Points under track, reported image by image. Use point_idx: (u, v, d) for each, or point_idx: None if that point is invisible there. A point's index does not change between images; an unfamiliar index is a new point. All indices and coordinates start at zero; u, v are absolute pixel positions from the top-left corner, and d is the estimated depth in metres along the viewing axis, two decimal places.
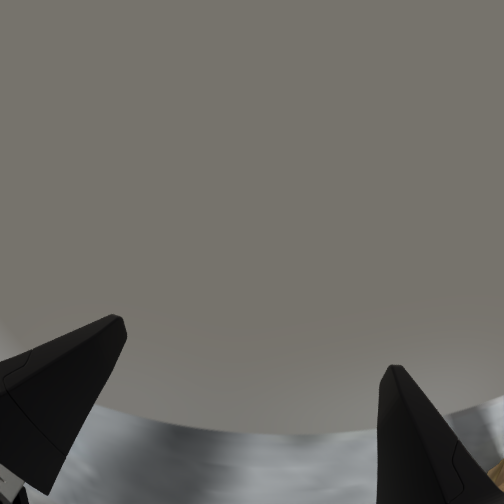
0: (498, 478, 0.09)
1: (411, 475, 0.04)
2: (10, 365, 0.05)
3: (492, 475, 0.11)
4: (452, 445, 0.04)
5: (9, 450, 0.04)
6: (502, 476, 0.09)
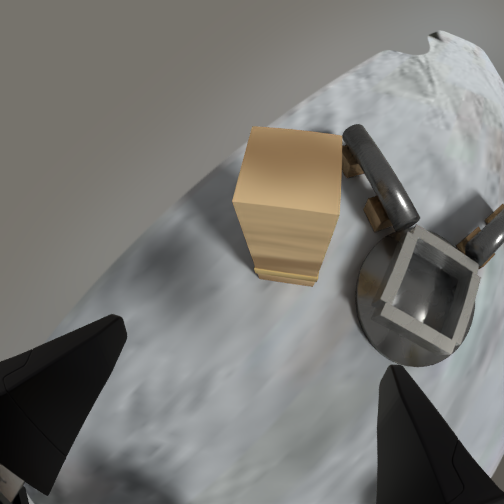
0: None
1: (411, 475, 0.04)
2: (10, 365, 0.05)
3: None
4: (452, 445, 0.04)
5: (9, 450, 0.04)
6: None
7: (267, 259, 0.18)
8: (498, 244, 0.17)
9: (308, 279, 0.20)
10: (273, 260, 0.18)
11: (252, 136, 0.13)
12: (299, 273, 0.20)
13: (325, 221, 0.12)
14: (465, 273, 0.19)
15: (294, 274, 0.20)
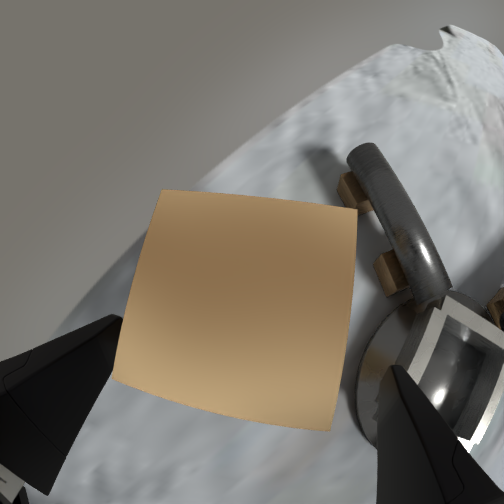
0: None
1: (411, 475, 0.04)
2: (10, 365, 0.05)
3: None
4: (452, 445, 0.04)
5: (9, 450, 0.04)
6: None
7: None
8: None
9: None
10: None
11: (157, 216, 0.06)
12: None
13: None
14: (496, 351, 0.12)
15: None
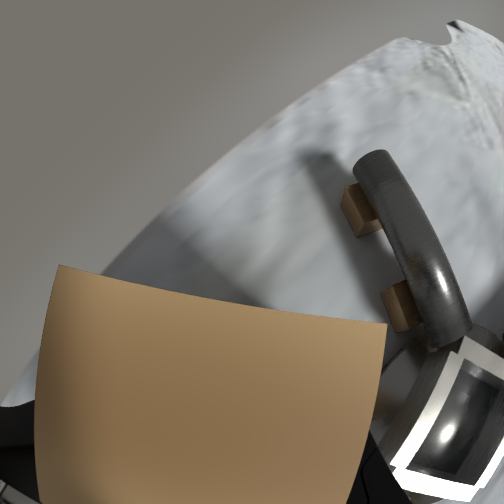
0: None
1: None
2: None
3: None
4: (366, 452, 0.04)
5: None
6: None
7: None
8: None
9: None
10: None
11: (53, 311, 0.03)
12: None
13: None
14: None
15: None
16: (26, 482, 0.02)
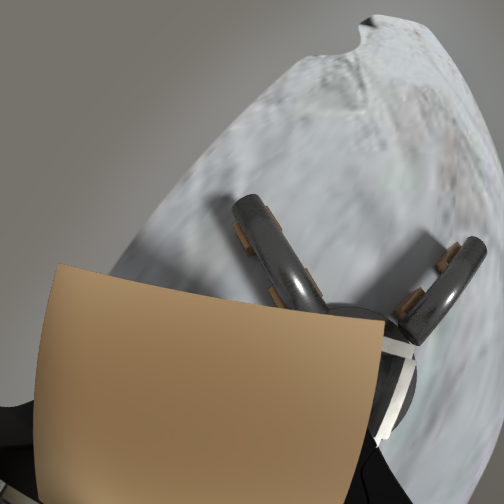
0: None
1: None
2: None
3: None
4: (366, 452, 0.04)
5: None
6: None
7: None
8: (443, 314, 0.16)
9: None
10: None
11: (52, 309, 0.03)
12: None
13: None
14: (397, 356, 0.17)
15: None
16: (26, 482, 0.02)
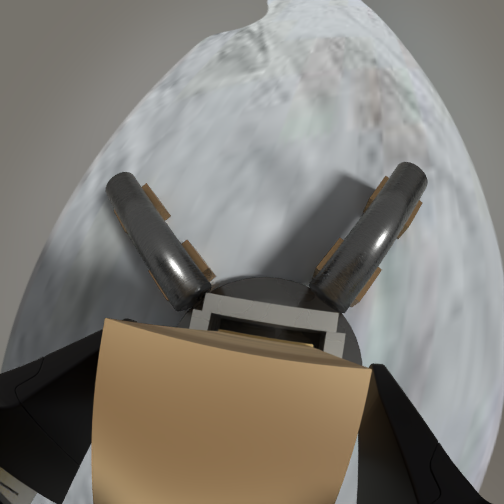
0: None
1: (388, 477, 0.04)
2: (22, 374, 0.05)
3: None
4: (431, 448, 0.04)
5: (22, 462, 0.04)
6: None
7: None
8: (372, 264, 0.14)
9: None
10: None
11: (105, 358, 0.04)
12: None
13: None
14: (319, 331, 0.14)
15: None
16: None
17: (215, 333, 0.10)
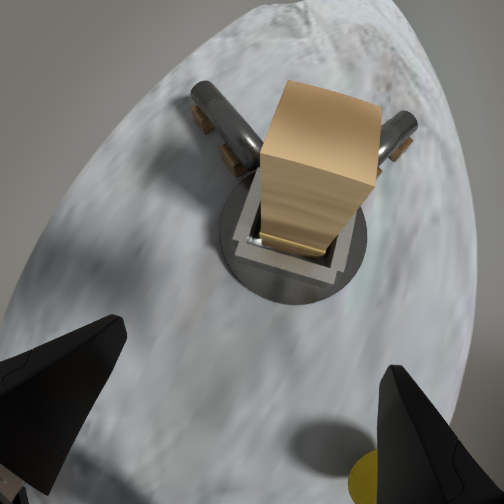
0: None
1: (411, 475, 0.04)
2: (10, 365, 0.05)
3: None
4: (452, 445, 0.04)
5: (9, 450, 0.04)
6: None
7: (277, 224, 0.17)
8: None
9: (314, 252, 0.19)
10: (283, 227, 0.17)
11: (287, 89, 0.11)
12: (306, 245, 0.19)
13: (357, 191, 0.10)
14: None
15: (301, 245, 0.19)
16: None
17: None
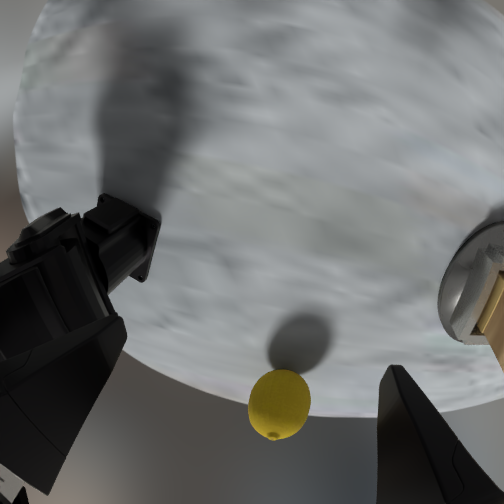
0: None
1: (411, 475, 0.04)
2: (10, 365, 0.05)
3: None
4: (452, 445, 0.04)
5: (9, 450, 0.04)
6: None
7: None
8: None
9: (482, 322, 0.16)
10: None
11: None
12: (490, 320, 0.15)
13: None
14: None
15: (491, 316, 0.15)
16: None
17: None
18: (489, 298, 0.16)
